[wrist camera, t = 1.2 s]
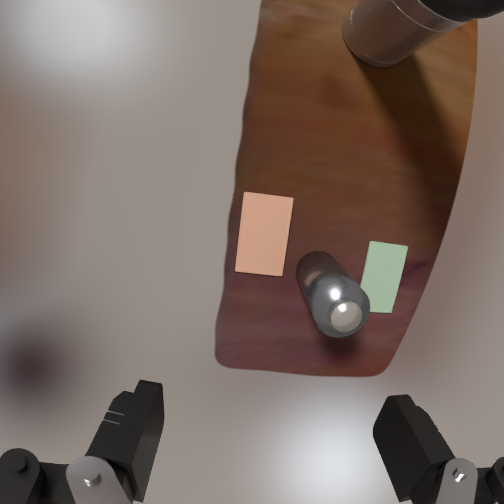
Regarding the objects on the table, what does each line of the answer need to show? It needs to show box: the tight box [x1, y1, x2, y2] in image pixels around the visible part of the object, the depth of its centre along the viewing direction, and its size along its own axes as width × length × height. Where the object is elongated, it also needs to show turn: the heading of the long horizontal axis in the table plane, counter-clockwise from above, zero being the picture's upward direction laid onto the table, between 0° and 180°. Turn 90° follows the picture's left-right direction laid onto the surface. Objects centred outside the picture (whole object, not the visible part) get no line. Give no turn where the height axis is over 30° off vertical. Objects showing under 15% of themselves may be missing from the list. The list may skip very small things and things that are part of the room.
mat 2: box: [360, 241, 408, 313], centre depth 40 cm, size 10×6×1 cm, turn 173°
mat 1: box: [235, 192, 294, 276], centre depth 39 cm, size 10×6×1 cm, turn 173°
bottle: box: [296, 251, 370, 338], centre depth 34 cm, size 6×6×13 cm
